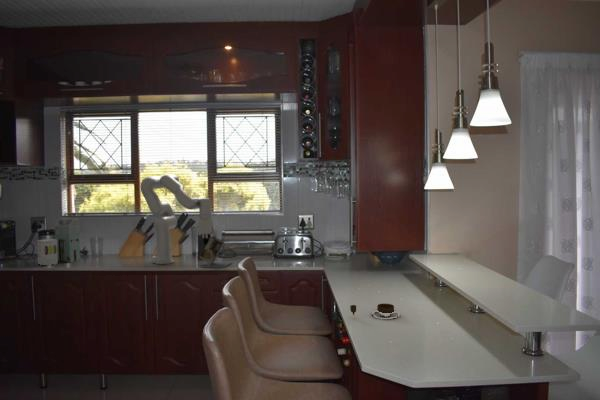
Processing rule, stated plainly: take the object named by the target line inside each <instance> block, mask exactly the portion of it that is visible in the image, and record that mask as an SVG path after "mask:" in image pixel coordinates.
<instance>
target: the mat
mask: <svg viewBox="0 0 600 400" xmlns="http://www.w3.org/2000/svg"><path fill="white" fill-rule="evenodd" d="M232 264H233V262H229V261H225V262H223V261H214V262H213V263H212V264H209V263H208V264H207V265H205V266H203V268H207V269H224V268H225V267H228V266H230V265H232Z"/></svg>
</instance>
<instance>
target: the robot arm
mask: <svg viewBox="0 0 600 400" xmlns="http://www.w3.org/2000/svg"><path fill="white" fill-rule="evenodd" d="M179 181H180V179H179V177H178V176H177V175H176V174H172V173H165V174H163V175H157V176H147V177H144V178H143V179H142V180H141V182H140V187H139V188H140V192H141V194H142V196H143V197H144V200H145V202H146V204H147V205H148V209H149V211H150V213H151V214H152V215H153V217H157V219H155V222H154V228H155V234H156V256H155V255H152V260H155V261H154V264H155V265H167V264H172V263H175V260H174V259H172V234H171V232H170V231H171V230H173V229H174V228H176V227H177V226H178V219H177V217H176V215H175V212H174V210H173V208H172V206H171V205H170V204H169V203H168V201H161V199H160V198H159V195H158V194H157V192H156V191H155V190H156V189H166V190H168V191H169V192H170V193H171V194H172V195H174V198H175V199H176V201H177V202H178V203H179V204H180V205H182V207H183V208H185V209H187V210H196V209H199V210H198V211H199V214H197V218H198V219H197V228H196V230H197V235H198V236H200V237H202V239H203V240H202V241H203V245H207V243H208V242H209V240H210V238H211V237H213V236H215V235H214V231H215V228H214V221H213V218H212V201H211V198H210V197H190V196H189V195H187V194H186V193H185V192H184V190H185V187H184V185H183V184H182V183H181V182H179ZM154 189H155V190H154Z"/></svg>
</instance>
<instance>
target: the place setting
mask: <svg viewBox="0 0 600 400" xmlns="http://www.w3.org/2000/svg"><path fill="white" fill-rule="evenodd" d="M376 307H377V309H376V310H378V311H379V312H382V313H392V312H394V310H395V305H393V304H392V303H378V304H377V306H376ZM349 310H350V313H353V314H354V315H355V313H356V312H357V305H355V304H351V305H350V309H349Z"/></svg>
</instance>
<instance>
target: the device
mask: <svg viewBox="0 0 600 400" xmlns="http://www.w3.org/2000/svg"><path fill="white" fill-rule="evenodd" d="M79 221H80V220H79V218H76V217H75V218H74V217H60V218H58V220H57V221H56V222H55V224H54V239H56V240H57V256H58V261H59V262H63V261H66V263H70V262H72V263H76V262H81V250H80V249H81V248H80V247H81V246H80V245H81V244H80V222H79Z"/></svg>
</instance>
